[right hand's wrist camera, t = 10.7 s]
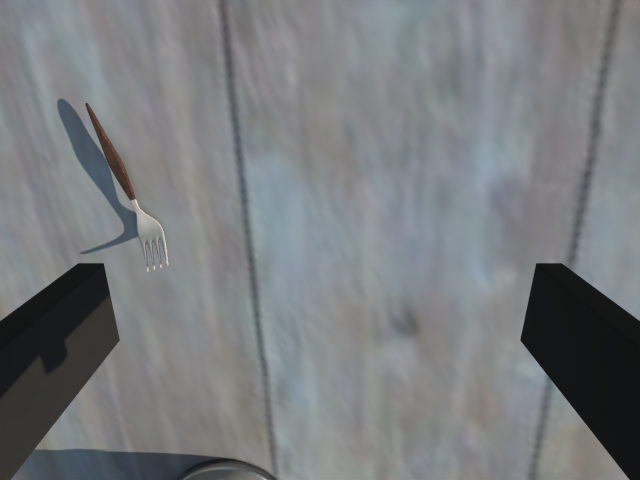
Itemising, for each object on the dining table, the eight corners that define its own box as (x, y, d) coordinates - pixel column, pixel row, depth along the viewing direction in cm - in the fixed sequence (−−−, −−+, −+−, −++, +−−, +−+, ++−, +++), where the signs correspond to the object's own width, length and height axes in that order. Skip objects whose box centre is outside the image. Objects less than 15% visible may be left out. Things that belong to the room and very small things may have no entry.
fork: (102, 98, 36) (91, 99, 34) (176, 257, 41) (169, 265, 39) (76, 107, 36) (63, 108, 34) (153, 264, 42) (145, 272, 40)
